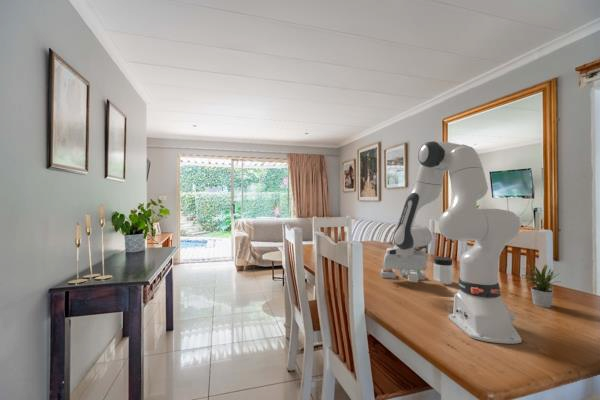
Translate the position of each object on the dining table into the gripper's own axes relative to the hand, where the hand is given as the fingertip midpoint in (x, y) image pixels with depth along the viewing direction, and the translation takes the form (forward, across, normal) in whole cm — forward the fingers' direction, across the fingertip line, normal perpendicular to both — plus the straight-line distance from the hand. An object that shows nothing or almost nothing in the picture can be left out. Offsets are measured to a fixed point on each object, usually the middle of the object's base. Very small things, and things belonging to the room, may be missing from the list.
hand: (404, 278), depth 141 cm
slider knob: (+1, -4, 0) cm, 4 cm away
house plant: (+3, -49, +18) cm, 52 cm away
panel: (+3, 0, -4) cm, 4 cm away
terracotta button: (-1, +8, -6) cm, 10 cm away
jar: (+3, -19, -5) cm, 20 cm away
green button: (+1, -6, -7) cm, 9 cm away
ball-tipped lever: (+1, 0, -7) cm, 7 cm away
